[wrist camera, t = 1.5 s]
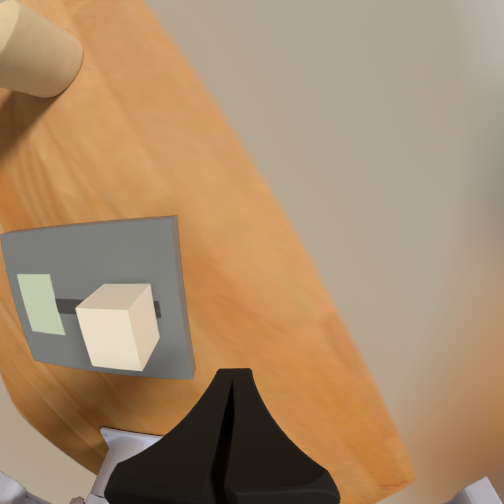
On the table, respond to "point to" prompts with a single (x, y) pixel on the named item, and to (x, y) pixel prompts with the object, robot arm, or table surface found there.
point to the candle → (35, 52)
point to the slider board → (93, 277)
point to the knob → (119, 326)
